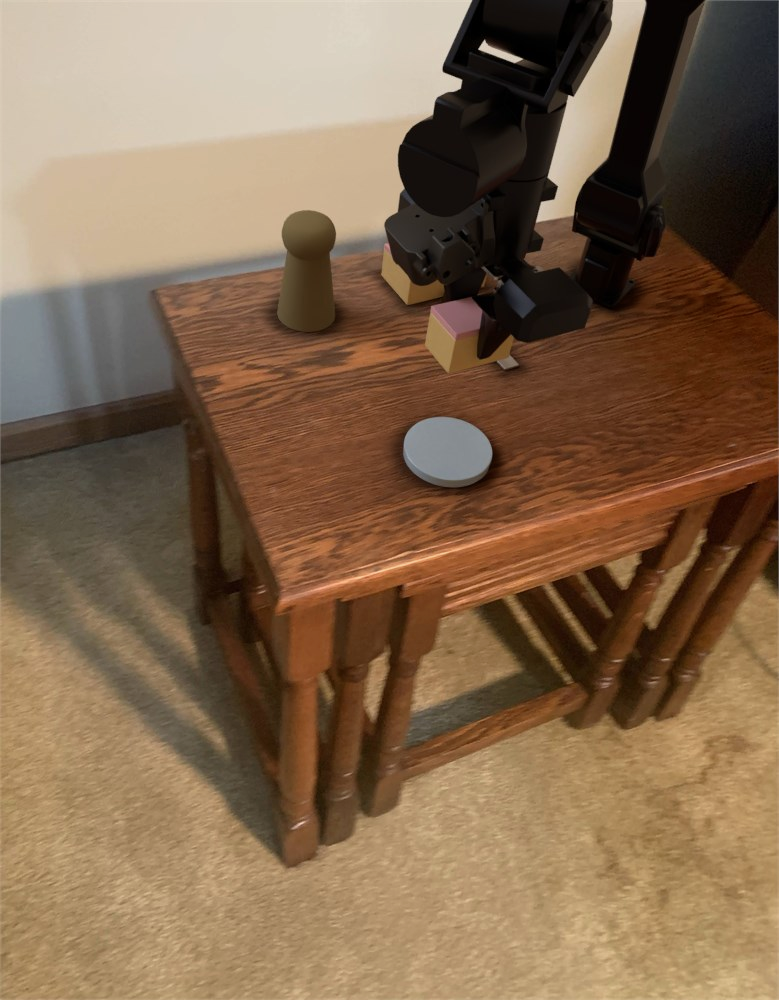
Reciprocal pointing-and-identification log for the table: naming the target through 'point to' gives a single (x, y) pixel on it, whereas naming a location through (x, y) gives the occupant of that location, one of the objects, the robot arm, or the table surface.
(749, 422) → the table surface
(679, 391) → the table surface
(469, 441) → the plate
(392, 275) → the cake
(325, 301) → the pepper mill
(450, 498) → the table surface
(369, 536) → the table surface
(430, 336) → the cake slice
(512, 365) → the knife
